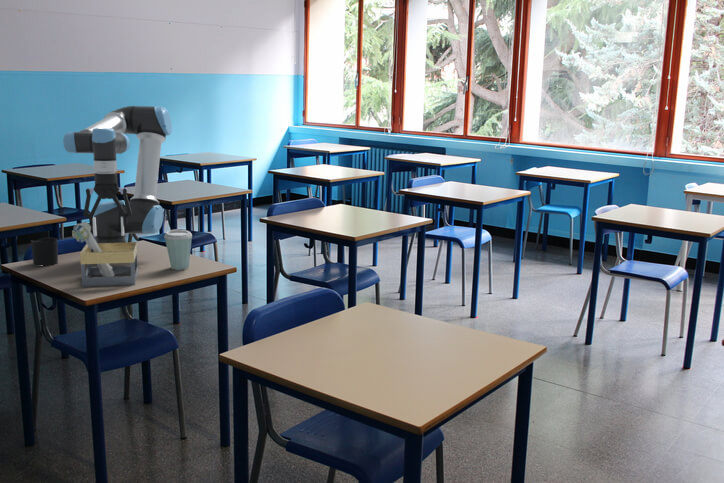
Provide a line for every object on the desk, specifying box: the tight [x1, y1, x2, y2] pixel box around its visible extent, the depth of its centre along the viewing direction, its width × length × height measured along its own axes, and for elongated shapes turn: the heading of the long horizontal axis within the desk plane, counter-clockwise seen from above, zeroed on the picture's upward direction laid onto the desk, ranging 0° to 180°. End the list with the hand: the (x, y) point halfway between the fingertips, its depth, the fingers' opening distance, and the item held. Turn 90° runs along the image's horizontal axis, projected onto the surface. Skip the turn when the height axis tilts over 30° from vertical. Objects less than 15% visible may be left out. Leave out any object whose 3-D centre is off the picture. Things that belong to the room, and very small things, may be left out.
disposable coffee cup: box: [163, 229, 193, 271], centre depth 260 cm, size 11×11×15 cm
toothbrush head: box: [71, 221, 116, 277], centre depth 235 cm, size 5×7×25 cm
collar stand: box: [79, 241, 139, 288], centre depth 242 cm, size 18×18×12 cm
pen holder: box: [30, 237, 59, 267], centre depth 263 cm, size 9×9×10 cm
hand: (109, 235), depth 240 cm, fingers open, 9 cm apart
